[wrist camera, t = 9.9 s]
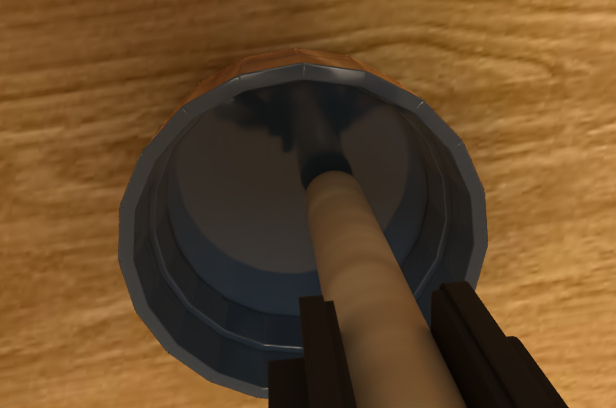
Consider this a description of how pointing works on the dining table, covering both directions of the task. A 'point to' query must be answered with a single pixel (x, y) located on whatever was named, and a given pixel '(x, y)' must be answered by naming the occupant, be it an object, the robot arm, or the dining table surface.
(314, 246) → the stick
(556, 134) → the dining table surface
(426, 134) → the bowl
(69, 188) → the dining table surface
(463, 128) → the dining table surface
